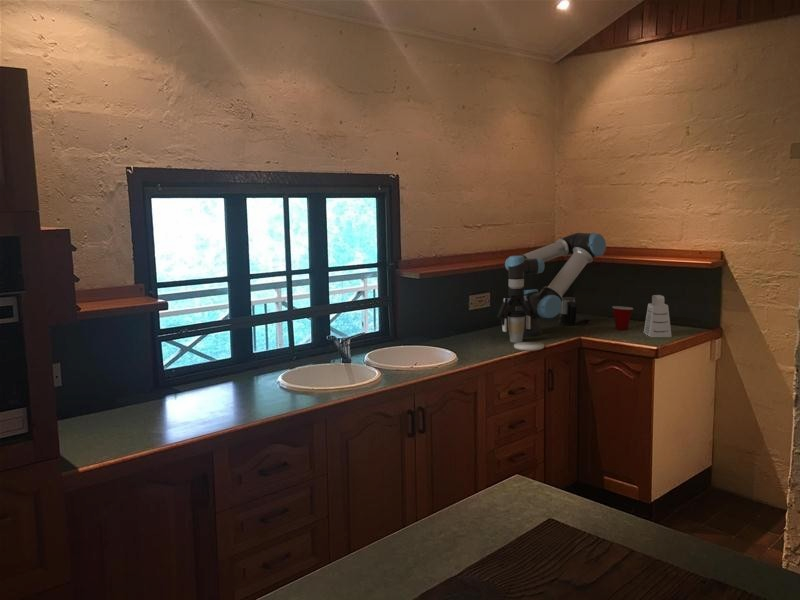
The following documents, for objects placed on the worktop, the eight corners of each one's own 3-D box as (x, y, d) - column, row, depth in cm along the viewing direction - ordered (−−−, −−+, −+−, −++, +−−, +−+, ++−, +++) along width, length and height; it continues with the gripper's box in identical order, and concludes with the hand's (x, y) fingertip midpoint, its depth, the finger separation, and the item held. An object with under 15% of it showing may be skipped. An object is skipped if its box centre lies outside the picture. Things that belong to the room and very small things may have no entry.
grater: (650, 337, 342) (651, 297, 339) (643, 333, 352) (644, 294, 350) (671, 336, 342) (672, 296, 339) (664, 332, 352) (665, 294, 349)
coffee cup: (512, 339, 346) (512, 309, 344) (529, 340, 341) (529, 311, 338) (503, 342, 339) (503, 312, 337) (520, 344, 333) (520, 313, 331)
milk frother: (555, 323, 387) (555, 297, 385) (576, 321, 394) (576, 295, 392) (572, 327, 374) (572, 300, 372) (594, 324, 382) (594, 298, 380)
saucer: (508, 348, 325) (508, 345, 324) (523, 343, 335) (523, 340, 335) (534, 351, 316) (534, 349, 315) (549, 346, 326) (549, 343, 326)
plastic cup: (637, 329, 363) (637, 307, 361) (620, 331, 359) (621, 308, 357) (623, 326, 373) (623, 304, 371) (607, 328, 369) (607, 306, 367)
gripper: (497, 290, 328) (498, 333, 331) (542, 286, 337) (542, 328, 340) (490, 288, 335) (490, 331, 338) (533, 285, 344) (533, 326, 347)
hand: (516, 330), depth 339 cm, fingers open, 13 cm apart
